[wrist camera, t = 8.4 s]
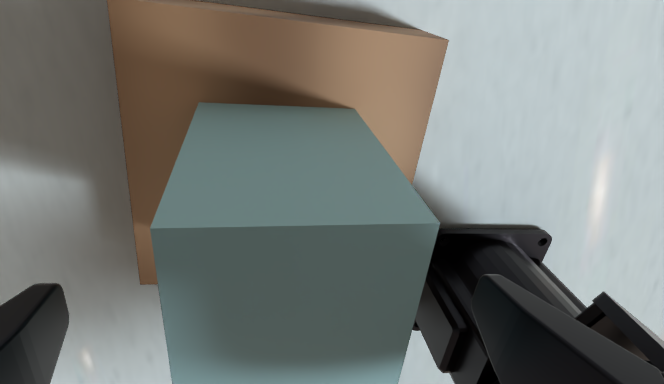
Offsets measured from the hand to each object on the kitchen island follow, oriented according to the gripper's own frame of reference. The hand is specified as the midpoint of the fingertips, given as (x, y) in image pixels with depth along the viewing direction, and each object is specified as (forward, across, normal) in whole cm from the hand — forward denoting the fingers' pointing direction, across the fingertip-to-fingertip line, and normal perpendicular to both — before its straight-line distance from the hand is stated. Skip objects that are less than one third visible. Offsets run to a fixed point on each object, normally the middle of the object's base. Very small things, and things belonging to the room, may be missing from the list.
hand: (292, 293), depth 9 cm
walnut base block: (+9, 0, 0) cm, 9 cm away
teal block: (+6, 0, 0) cm, 6 cm away
